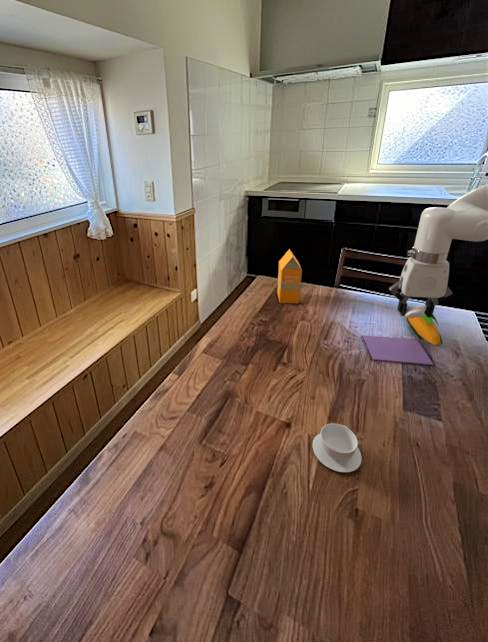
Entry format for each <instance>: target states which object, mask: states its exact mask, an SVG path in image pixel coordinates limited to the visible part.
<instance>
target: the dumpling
mask: <svg viewBox="0 0 488 642" xmlns="http://www.w3.org/2000/svg"><path fill="white" fill-rule="evenodd" d="M426 309H427V306H425V304H413V305H408V306H407V309H406V313H405V315H404V316H403V317H404V318H406V319H407V318H415V317H417V318H418V317H421V316H422V315H423V314H424V312H425V310H426Z"/></svg>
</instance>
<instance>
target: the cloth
mask: <svg viewBox="0 0 488 642" xmlns="http://www.w3.org/2000/svg"><path fill="white" fill-rule="evenodd" d="M362 338H363V339H364V342H365V345H366V347H367V350H368V352H369V354H370V356H371V359H372V361H378V362H379V361H380V362H381V361H382V362H390V363H391V362H392V363H393V362H394V363H402V364H403V363H404V364H412V365H413V364H414V365H426V366H434V363H433V361H432V359H431V357H429V356H428V354H427V352H426V351H425V349H424V348H423V346H422V345H421V343H420V341H419V340H418V339H411V338H398V337H396V338H395V337H384V336H371V335H363V336H362Z"/></svg>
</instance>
